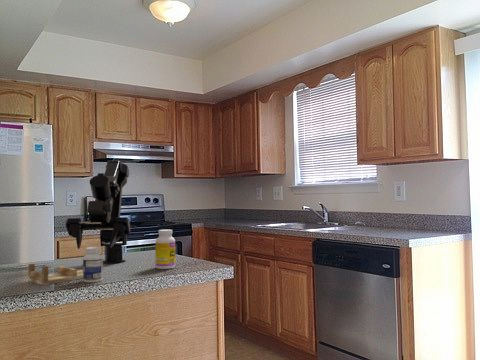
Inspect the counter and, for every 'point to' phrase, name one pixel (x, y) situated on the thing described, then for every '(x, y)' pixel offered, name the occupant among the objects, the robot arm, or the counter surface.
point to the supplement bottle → (165, 250)
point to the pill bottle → (92, 265)
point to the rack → (54, 275)
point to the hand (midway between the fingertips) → (94, 247)
